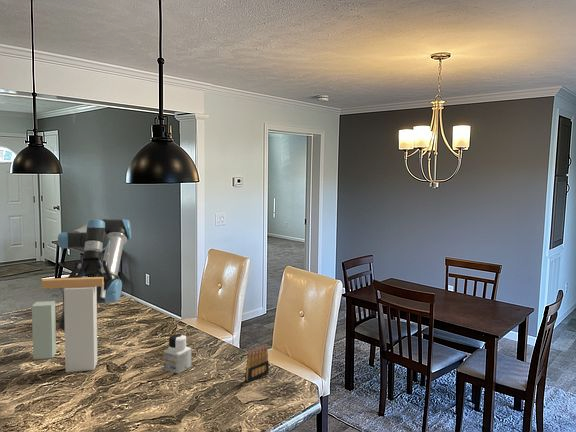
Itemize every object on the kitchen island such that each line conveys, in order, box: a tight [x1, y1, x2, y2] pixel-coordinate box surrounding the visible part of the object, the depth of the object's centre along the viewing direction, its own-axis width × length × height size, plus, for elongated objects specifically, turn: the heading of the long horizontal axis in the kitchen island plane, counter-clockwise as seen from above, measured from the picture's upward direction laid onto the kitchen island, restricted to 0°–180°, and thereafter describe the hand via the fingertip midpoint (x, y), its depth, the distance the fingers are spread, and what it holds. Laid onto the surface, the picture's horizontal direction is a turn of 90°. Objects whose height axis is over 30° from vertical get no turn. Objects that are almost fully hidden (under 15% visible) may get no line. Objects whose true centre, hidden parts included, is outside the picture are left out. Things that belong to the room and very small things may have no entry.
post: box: [64, 287, 98, 373], centre depth 168 cm, size 8×10×32 cm
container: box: [163, 333, 192, 375], centre depth 170 cm, size 8×8×13 cm
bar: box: [41, 276, 104, 290], centre depth 166 cm, size 3×21×3 cm, turn 105°
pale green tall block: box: [31, 300, 57, 360], centre depth 177 cm, size 6×7×22 cm
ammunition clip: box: [244, 343, 270, 383], centre depth 164 cm, size 11×2×12 cm, turn 138°
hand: (87, 298), depth 188 cm, fingers open, 13 cm apart
